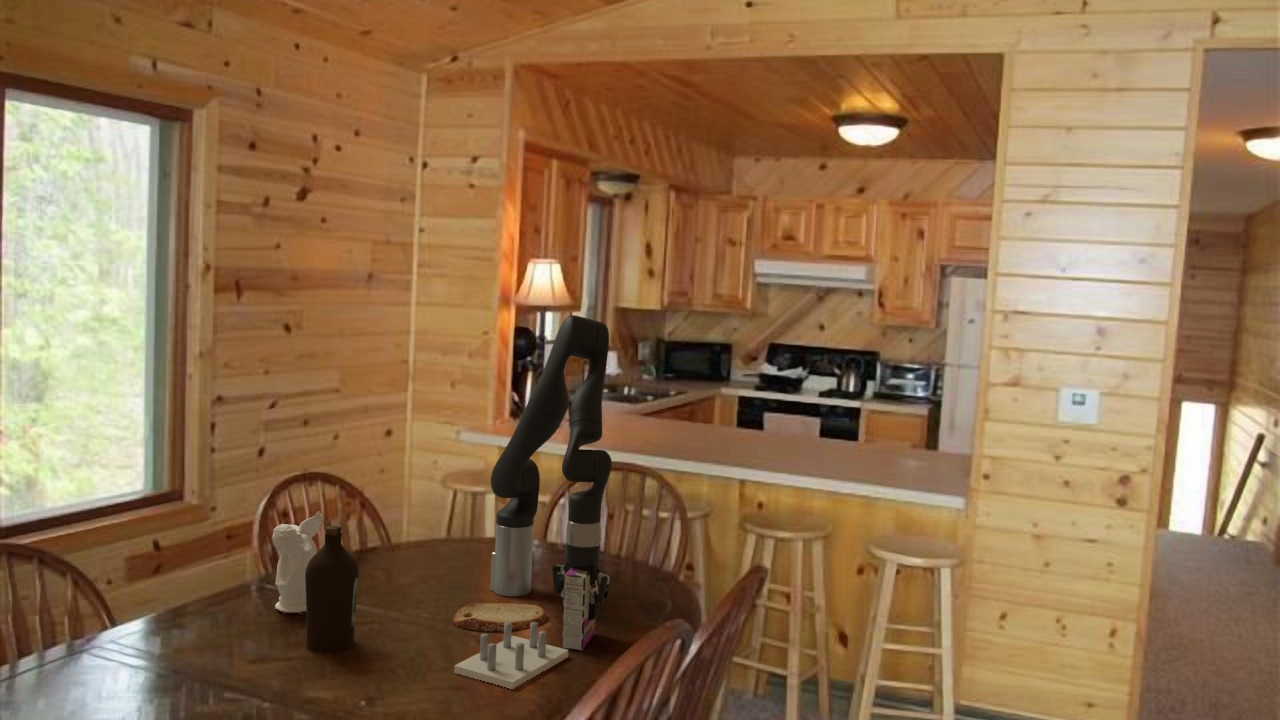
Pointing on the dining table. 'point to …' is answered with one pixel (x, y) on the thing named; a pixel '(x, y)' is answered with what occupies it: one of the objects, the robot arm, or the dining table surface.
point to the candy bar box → (577, 610)
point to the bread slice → (497, 616)
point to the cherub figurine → (294, 561)
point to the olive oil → (331, 595)
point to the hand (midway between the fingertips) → (579, 616)
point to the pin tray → (511, 658)
